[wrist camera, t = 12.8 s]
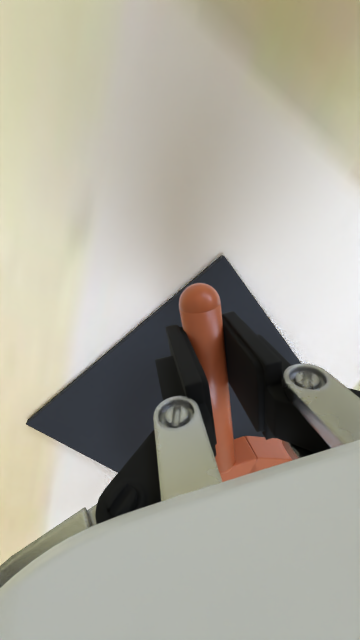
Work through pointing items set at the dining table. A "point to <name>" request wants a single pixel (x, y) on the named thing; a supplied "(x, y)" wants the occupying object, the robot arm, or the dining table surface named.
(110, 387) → the mat
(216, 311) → the orange ring with handle
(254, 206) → the dining table surface
